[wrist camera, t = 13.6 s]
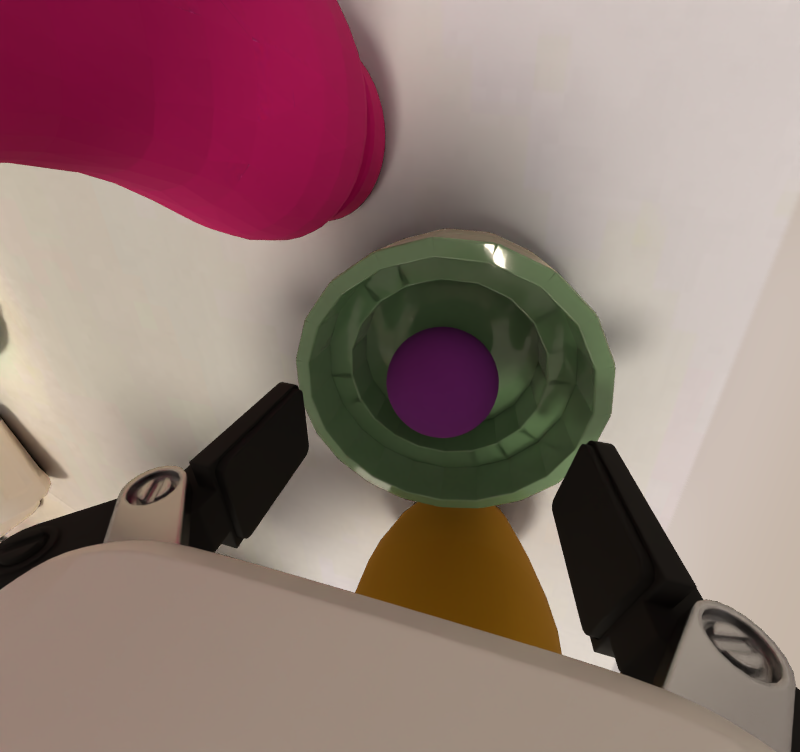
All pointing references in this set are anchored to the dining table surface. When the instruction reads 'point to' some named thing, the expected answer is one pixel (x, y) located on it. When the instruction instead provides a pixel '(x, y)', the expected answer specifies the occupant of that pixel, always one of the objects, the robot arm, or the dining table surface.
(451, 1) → the dining table surface
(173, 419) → the dining table surface
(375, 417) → the bowl
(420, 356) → the ball
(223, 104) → the pepper mill
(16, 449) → the cup
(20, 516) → the can
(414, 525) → the apple
